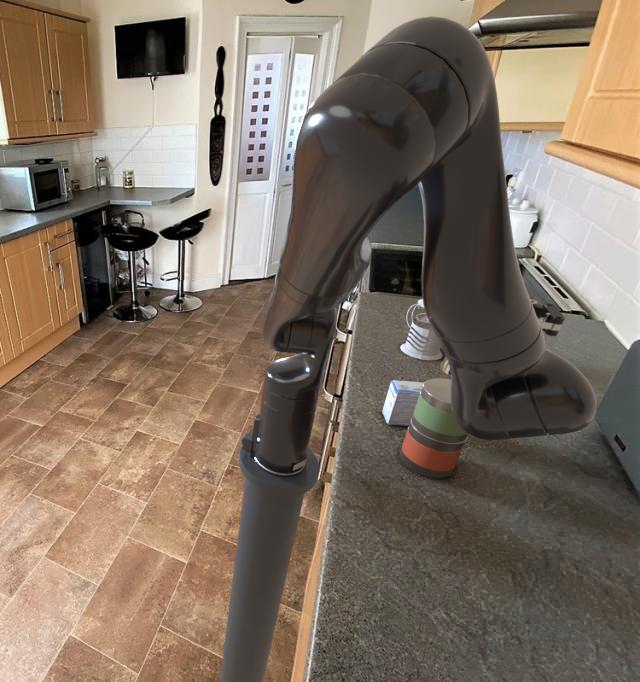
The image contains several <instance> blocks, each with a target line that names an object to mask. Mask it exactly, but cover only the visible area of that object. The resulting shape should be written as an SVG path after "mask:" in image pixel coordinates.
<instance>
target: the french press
mask: <svg viewBox="0 0 640 682" xmlns="http://www.w3.org/2000/svg"><path fill="white" fill-rule="evenodd" d="M413 307H414V308H413ZM420 307H421V308H420ZM412 308H413V309H412ZM416 308H417V309H418V310H423V309H424V305H423V298H421V299H418V300H417V303H415V304H412V305H410V307H409V308H408V310H407V312H406V316H405V317H406V323H407V326H408V328H410V329H409V332H408V335H407V338H406V341H405V343H402V344H401V345H400V347H399V348H400V350H401V352H403V353H404V354H405V355H407V356H408V357H411V358H415V359H418V360H423V361H438V360H440V359H442V357H443V356H444V355H443V353H442V352H441V350H440V349H441V348H442V346H441V344H440V342H439V340H438V338H437V336H436V334H435V332H434V330H433V328H432V326H431V324H430V322H429V320H428V317H427V315H426V312H425V313H424V312H423V313H418V314H416V315H415V316H414V312H415V309H416ZM411 309H412V312H411V325H410V324H409V322H408V317H409V311H410V310H411ZM413 316H414V317H415V318H413ZM416 322H417V324H416Z"/></svg>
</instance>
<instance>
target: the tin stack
mask: <svg viewBox="0 0 640 682" xmlns="http://www.w3.org/2000/svg"><path fill="white" fill-rule="evenodd" d="M423 383H424V384H423V387H422V390H421V392H420V395H419V398H418V401H417V404H416V406H415V409H414V413H413V416H412V418H411V420H410V425H409V426H407V430H406V433H405V436H404V439H403V442H402V445H401V448H400V451H399V458H400V461H401V462H402V463H403V464H404V466H405V467H407V468H408V469H409V470H411V471H412V472H414V473H416V474H418V475H419V476H423V477H426V478H431V479H446V478H448V477H450V476H451V475H452V474H453V472H454V469H455V467H456V465H457V464H458V460H459V459H460V457H461V454H462V452H463V449H464V446H465V444H466V442H467V441H468V438H469V434H468V433H467V432H466V431H464V430H463V429H462V428H461V427H460V426H459V425H458V423H457V422H456V420H455V418H454V416H453V412H452V408H451V401H450V385H451V378H440V377H437V378H430V379H427V380H425V381H424V382H423Z"/></svg>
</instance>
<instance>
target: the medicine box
mask: <svg viewBox="0 0 640 682" xmlns="http://www.w3.org/2000/svg"><path fill="white" fill-rule="evenodd" d="M423 384H424V382H420V381H406V380H396V379H395V380H394V379H392V380H391V382H390V384H389V387H388V390H387V395H386V398H385V401H384V405H383V408H382V415H383V417H384V419H385V422H386V424H387V425H393V426H403V427H409V425H410V420H411V418H412V416H413V413H414V409H415V406H416V404H417V401H418V398H419V395H420V392H421V390H422V387H423Z"/></svg>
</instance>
